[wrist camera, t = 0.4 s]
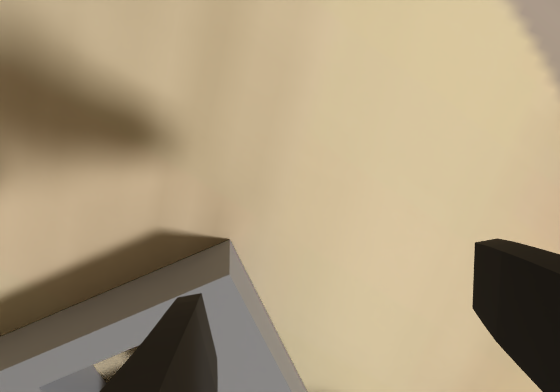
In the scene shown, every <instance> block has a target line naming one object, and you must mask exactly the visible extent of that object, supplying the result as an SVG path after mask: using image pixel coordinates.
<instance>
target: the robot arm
mask: <svg viewBox="0 0 560 392" xmlns="http://www.w3.org/2000/svg"><path fill="white" fill-rule="evenodd" d="M473 309H474V311H475V312H476V314H477V315H478V317H479V318H480V320H481V321H482V323H483V324H484V326H485V327H486V328H487V330H488V331H489V332H490V334H491V335H492V336H493V338H494V339H495V340H496V342H497V343H498V344H499V345H500V346H501V347H502V348H503V350H504V351H505V352H506V353H507V354H508V355H509V356H510V357H511V358H512V359H513V360H514V361H515V363H516V364H517V365H518V366H519V367H520V368H521V369H522V370H523V371H524V372H525V373H526V374H527V375H528V377H529V378H530V379H531V380H532V381H533V382H534V383H535V384H536V385H537V386H538V387H539V388H540V389H541V390H542V392H560V254H556V253H553V252H549V251H546V250H542V249H539V248H535V247H531V246H528V245H524V244H520V243H516V242H512V241H507V240H502V239H492V240H487V241H481V242H476V243H475V257H474V284H473ZM100 392H218V368H217V355H216V351H215V346H214V342H213V338H212V334H211V330H210V326H209V322H208V317H207V313H206V309H205V305H204V301H203V297H202V293H199V294H193V295H188V296H182V297H177V298H176V300H175V301H174V302H173V303H172V305H171V306H170V307H169V309H168V310H167V311H166V312H165V314H164V315H163V316H162V318H161V319H160V320H159V322H158V323H157V324H156V325H155V327H154V328H153V329H152V331H151V332H150V333H149V335H148V336H147V337H146V338H145V340H144V341H143V342H142V343H141V345H140V346H139V347H138V348H137V349H136V351H135V352H134V353H133V354H132V356H131V357H130V358H129V359H128V360H127V361H126V362H125V363H124V365H123V366H122V367H121V368H120V369H119V370H118V371H117V373H116V374H115V375H114V376H113V377H112V378H111V379H110V381H109V382H108V383H107V384H106V385H105V386H104V387H103V388H102V389H101V391H100Z"/></svg>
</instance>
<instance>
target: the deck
mask: <svg viewBox="0 0 560 392" xmlns="http://www.w3.org/2000/svg"><path fill="white" fill-rule="evenodd" d="M199 293H202V297H203V301H204V305H205V309H206V313H207V317H208V322H209V326H210V330H211V334H212V338H213V342H214V346H215V351H216V355H217V368H218V392H307V390H306V388H305V386H304V384H303V382H302V380H301V378H300V376H299V374H298V372H297V370H296V368H295V366H294V364H293V362H292V360H291V358H290V356H289V354H288V353H287V351H286V349H285V347H284V345H283V343H282V341H281V339H280V337H279V335H278V333H277V331H276V329H275V327H274V325H273V323H272V321H271V319H270V317H269V315H268V313H267V311H266V309H265V307H264V305H263V303H262V301H261V299H260V297H259V296H258V294H257V292H256V290H255V288H254V286H253V284H252V282H251V280H250V278H249V276H248V274H247V272H246V270H245V268H244V266H243V264H242V262H241V260H240V258H239V256H238V254H237V252H236V250H235V248H234V246H233V244H232V242H231V241H230V240H227V241H225V242H223V243H220V244H218V245H215V246H213V247H211V248H208V249H206V250H204V251H201V252H199V253H197V254H194V255H192V256H190V257H187V258H185V259H182V260H180V261H178V262H175V263H173V264H171V265H168V266H166V267H164V268H161V269H159V270H156V271H154V272H152V273H149V274H147V275H145V276H142V277H140V278H138V279H135V280H133V281H131V282H128V283H126V284H123V285H121V286H119V287H116V288H114V289H112V290H109V291H107V292H105V293H102V294H100V295H98V296H95V297H93V298H90V299H88V300H86V301H83V302H81V303H79V304H76V305H74V306H72V307H69V308H67V309H64V310H62V311H60V312H57V313H55V314H53V315H50V316H48V317H46V318H43V319H41V320H39V321H36V322H34V323H31V324H29V325H27V326H24V327H22V328H20V329H17V330H15V331H13V332H10V333H8V334H6V335H3V336H1V337H0V392H100V391H101V389H102V388H103V387H104V386H105V385H106V384H107V383H106V382H105V381H104V379H103V378H102V377H101V376H100V374H99V373H98V372H97V370H96V369H95V368H94V366H93V364H96V363H98V362H100V361H103V360H105V359H107V358H110V357H112V356H115V355H117V354H119V353H122V352H124V351H127V350H129V349H131V348H134V347H136V346H138V345H141V343H142V342H143V341H144V340H145V338H146V337H147V336H148V335H149V333H150V332H151V331H152V329H153V328H154V327H155V325H156V324H157V323H158V322H159V320H160V319H161V318H162V316H163V315H164V314H165V312H166V311H167V310H168V309H169V307H170V306H171V305H172V303H173V302H174V301H175V300H176V298H177V297H182V296H188V295H193V294H199Z"/></svg>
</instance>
